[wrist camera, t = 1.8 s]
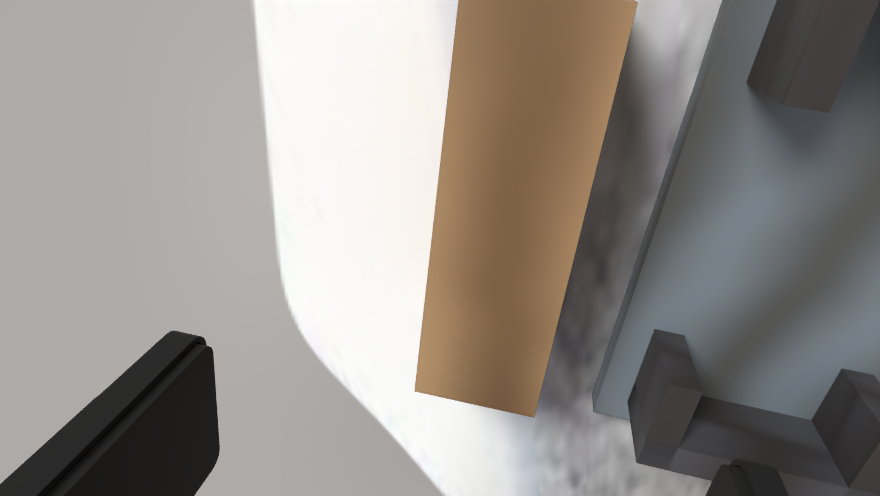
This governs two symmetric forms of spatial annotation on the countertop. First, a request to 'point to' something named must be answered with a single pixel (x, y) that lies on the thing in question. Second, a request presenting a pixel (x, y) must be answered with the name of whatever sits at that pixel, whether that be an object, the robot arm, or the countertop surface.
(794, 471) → the dark grey holder
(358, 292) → the countertop surface
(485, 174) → the tan brown block
